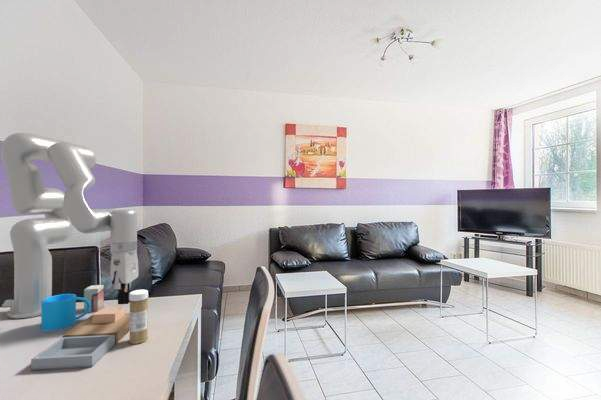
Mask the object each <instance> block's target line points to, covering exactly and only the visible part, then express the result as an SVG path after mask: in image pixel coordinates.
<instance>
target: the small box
mask: <svg viewBox="0 0 601 400" xmlns="http://www.w3.org/2000/svg"><path fill="white" fill-rule="evenodd" d="M104 287H105V285H104V284H96V285H92V284H91V285H90V286H87V287H86V288H84V289H83V298H85V299H87V300H88V301H89V302H90V305H91V307H90V310H89V311H88V313H92V312H93V313H94V312H97V311H99V310H100V309H102V308H103V307H104V296H105V295H104ZM86 309H87V304H86V303H85V302H84V301H83V313H84V312H85V310H86Z"/></svg>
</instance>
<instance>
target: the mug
mask: <svg viewBox="0 0 601 400" xmlns="http://www.w3.org/2000/svg"><path fill="white" fill-rule="evenodd" d="M77 300H78V301H82V302H83V303H84V302H85V303H86V304H87V309H86V310H85V312H84V311H83V313H82V314H79V315H77ZM90 307H91V305H90V302H89V301H88V300H87V299H85V298H84V297H79V296H77V295H76V294H74V293H61V294H57V295H52V296H51V297H48V298H45V299H43V300H42V301H41V315H40V316H41V317H40V318H41V321H40V323H41V324H40V325H41V327H40V328H41V331H42V330H43V331H48V332H49V331H57V330H63V329H65V328H68V327H70V326H72V325H74V324H75V323H76V321H77V320H79V319H82V318H83V317H85V316H86V315H87V314H88V313H89V312H88V311H89V310H90Z"/></svg>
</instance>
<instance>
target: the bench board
mask: <svg viewBox="0 0 601 400" xmlns="http://www.w3.org/2000/svg"><path fill="white" fill-rule="evenodd" d="M128 333H130V312H125V315H123V316H122V317H121V318H120V319H119V320H117V321H116V322H114V323H93V314H91V315H90V316H89V317H87V318H86V319H84V320H82V322H80V323H79V324H77V325H75V326H74V327H73V328H71V329H70V330H69V331H67V332H65V333H64V334H63V335H62V337H77V336H98V335H115V345H117V344H118V343H119V341H121V340H122V339H123V338H124V337H125V336H126V335H127V334H128Z"/></svg>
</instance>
